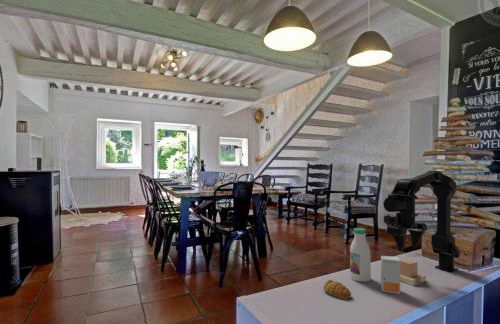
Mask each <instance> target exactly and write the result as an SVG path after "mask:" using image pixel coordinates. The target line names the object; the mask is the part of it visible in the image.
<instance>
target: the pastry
mask: <svg viewBox="0 0 500 324" xmlns="http://www.w3.org/2000/svg"><path fill="white" fill-rule="evenodd" d="M323 290H324V292H325V293H326V294H329V295H330V296H332V297H335V298H338V299H344V300H347V299H350V298H351V296H352V292H351V291H350V289H349V288H348V287H346V286H345V285H344V284H343V283H341V282H338V281H334V280H333V279H328V280H327V281H326V282H325V283H324V286H323Z"/></svg>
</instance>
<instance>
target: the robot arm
mask: <svg viewBox="0 0 500 324" xmlns="http://www.w3.org/2000/svg"><path fill="white" fill-rule="evenodd" d="M426 185H429V186H431V188H432V193H433V194H434V195H435V197H436V201H437V202H436V231H435V232H434V234H431V236H430V237H431V238H430V239H431V242H430V245H431V248H432V251H433V254H438V265H435V266H434V267H435V269H440V270H443V271H446V272H449V273H452V272H454V271H458V270H459V268H458V267H455V259H456V258H457V259H459V257H460V255H461V251H460V249H459V248H458V246H457V245H456V239H455V237H454V235H453V234H452V233H451V215H452V212H451V211H452V210H451V209H452V208H451V207H452V206H451V205H452V198H453V197H454V196H455V195H456V193H457V192H456V191H457V186H458V185H457V182H456V181H455V180H454V179H453V178H452V177H450V176H448V175H446V174H444V173H443V172H441V171H439V170H428V171H426V172H425V173H422V174H419V175H417V176H416V175H415V176H414V177H411V178H400V179H399V178H398V180H396V183H395V184H394V187H393V188H392V191H391V193H390V194H387V197H386V198H385V199H384V201H383V208H384V210H385V211H387V212H388V213H395V216H391V215H390V214H388V215H384V216H383V223H385V224H386V233H388V234H389V235H390V236H392V237H393V238H394V241H395V244H396V246H397V249H398V251H399V252H403V250H404V247H405V244H406V240H407V236H408V234H407V233H409V234H410V239H411V240H410V241H411V247H412V248H413V249H416V247H417V246H418V244H419V243H420V240H421V239H422V237H423V235H424V234H425V233H426V231H428V225H427V224H426V223H425V222H420V221H416V217H418V213H416V200H418V199H419V197H418V196H417V195H416V194H417V193H418V192H420V191H421V188H423V187H424V186H426ZM407 231H408V232H407Z"/></svg>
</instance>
